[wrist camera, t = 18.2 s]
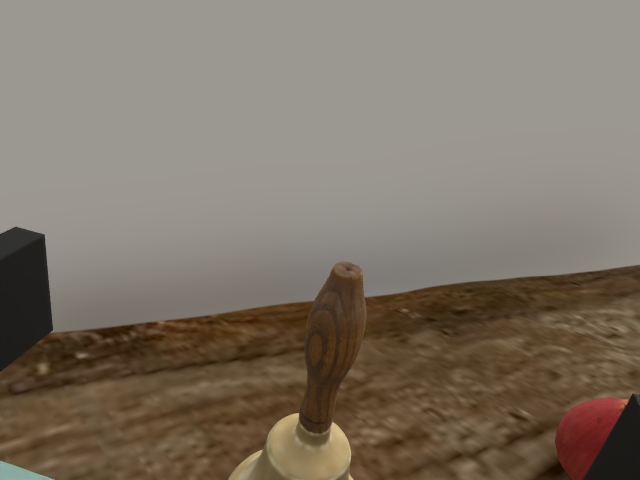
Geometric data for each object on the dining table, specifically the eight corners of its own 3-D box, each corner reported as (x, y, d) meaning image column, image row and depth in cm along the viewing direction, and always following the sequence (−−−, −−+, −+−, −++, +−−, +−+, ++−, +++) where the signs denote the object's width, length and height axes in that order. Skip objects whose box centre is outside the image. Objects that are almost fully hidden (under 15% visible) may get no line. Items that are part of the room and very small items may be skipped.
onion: (533, 440, 36) (577, 354, 32) (616, 468, 35) (671, 382, 31) (544, 509, 31) (597, 415, 27) (642, 544, 30) (710, 451, 26)
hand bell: (373, 597, 24) (473, 340, 17) (205, 582, 24) (239, 307, 17) (359, 457, 32) (425, 238, 25) (231, 442, 31) (262, 212, 24)
